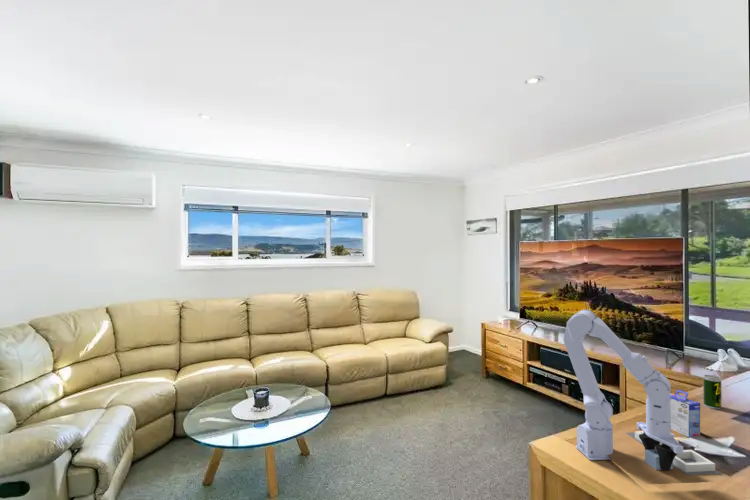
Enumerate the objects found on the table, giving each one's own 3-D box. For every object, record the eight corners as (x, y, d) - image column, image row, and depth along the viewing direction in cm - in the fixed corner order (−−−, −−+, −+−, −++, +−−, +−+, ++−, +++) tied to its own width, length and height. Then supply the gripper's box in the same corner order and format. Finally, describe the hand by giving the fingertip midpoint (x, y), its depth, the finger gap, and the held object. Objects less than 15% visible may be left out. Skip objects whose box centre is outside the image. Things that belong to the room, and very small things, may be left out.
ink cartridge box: (701, 439, 126) (701, 396, 126) (689, 442, 125) (689, 398, 125) (671, 426, 136) (671, 385, 136) (659, 428, 134) (659, 387, 134)
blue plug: (655, 475, 107) (655, 451, 107) (645, 466, 111) (644, 444, 111) (673, 474, 107) (672, 450, 107) (661, 466, 111) (661, 443, 111)
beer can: (700, 405, 153) (700, 375, 153) (707, 403, 155) (706, 373, 155) (717, 410, 148) (717, 379, 148) (724, 407, 150) (723, 377, 150)
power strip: (687, 480, 104) (687, 467, 104) (625, 437, 128) (625, 426, 128) (722, 479, 105) (722, 466, 105) (654, 436, 129) (654, 425, 129)
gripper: (694, 429, 102) (694, 480, 102) (652, 407, 116) (652, 451, 117) (668, 430, 102) (669, 481, 102) (629, 408, 116) (630, 452, 116)
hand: (658, 465), depth 109 cm, fingers closed on blue plug, 4 cm apart
